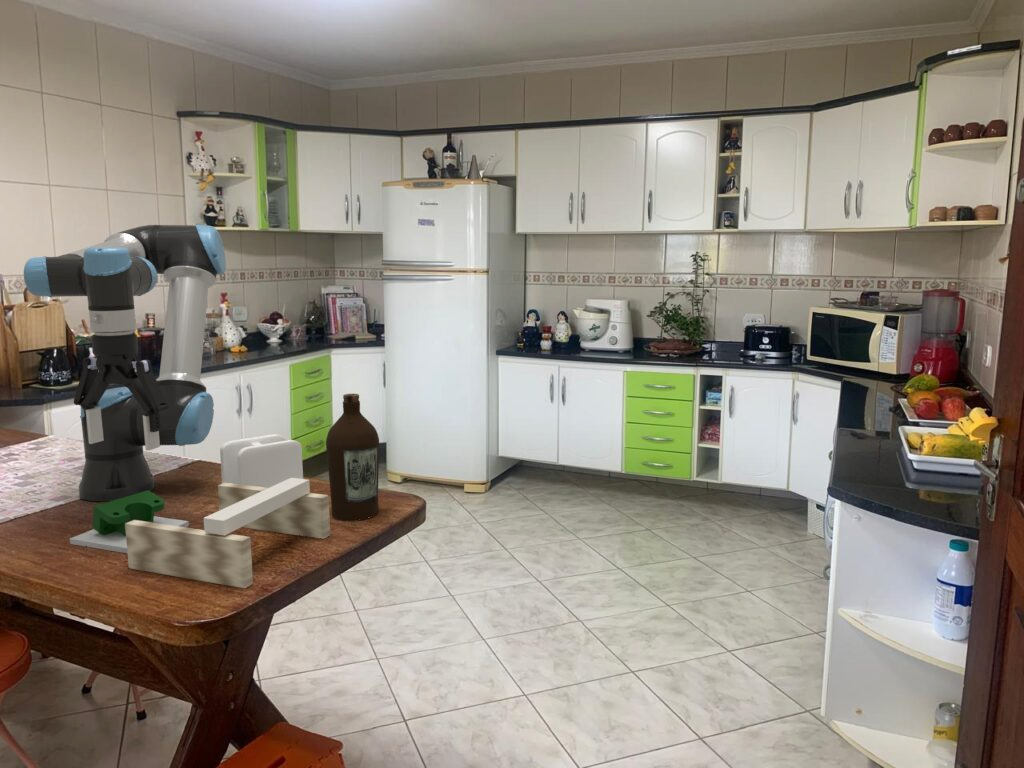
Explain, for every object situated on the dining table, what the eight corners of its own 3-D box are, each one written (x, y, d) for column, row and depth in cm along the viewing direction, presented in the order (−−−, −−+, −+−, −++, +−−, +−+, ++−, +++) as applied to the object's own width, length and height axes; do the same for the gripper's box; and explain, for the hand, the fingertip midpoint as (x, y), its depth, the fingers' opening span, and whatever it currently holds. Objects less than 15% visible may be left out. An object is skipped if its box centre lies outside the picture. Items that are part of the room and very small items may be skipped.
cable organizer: (238, 502, 168) (235, 450, 166) (221, 491, 176) (218, 441, 174) (304, 489, 178) (301, 439, 176) (284, 478, 186) (282, 431, 184)
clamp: (120, 558, 146) (104, 525, 141) (101, 545, 149) (85, 511, 144) (174, 519, 154) (161, 486, 149) (155, 506, 157) (142, 474, 152)
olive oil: (321, 511, 163) (316, 393, 159) (368, 502, 169) (364, 388, 165) (341, 526, 154) (336, 402, 150) (389, 515, 160) (386, 396, 156)
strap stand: (128, 568, 134) (124, 523, 132) (226, 520, 157) (224, 482, 156) (245, 588, 126) (242, 541, 125) (330, 535, 149) (328, 495, 148)
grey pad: (70, 543, 145) (69, 538, 145) (133, 517, 159) (133, 513, 158) (129, 553, 140) (128, 548, 140) (189, 526, 154) (188, 521, 154)
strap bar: (204, 532, 128) (203, 517, 127) (291, 490, 150) (291, 477, 149) (224, 535, 126) (223, 520, 126) (309, 492, 149) (309, 479, 148)
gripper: (44, 332, 143) (56, 444, 147) (152, 338, 135) (162, 456, 139) (79, 327, 150) (90, 434, 154) (183, 333, 142) (192, 446, 146)
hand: (124, 445), depth 147 cm, fingers open, 13 cm apart
